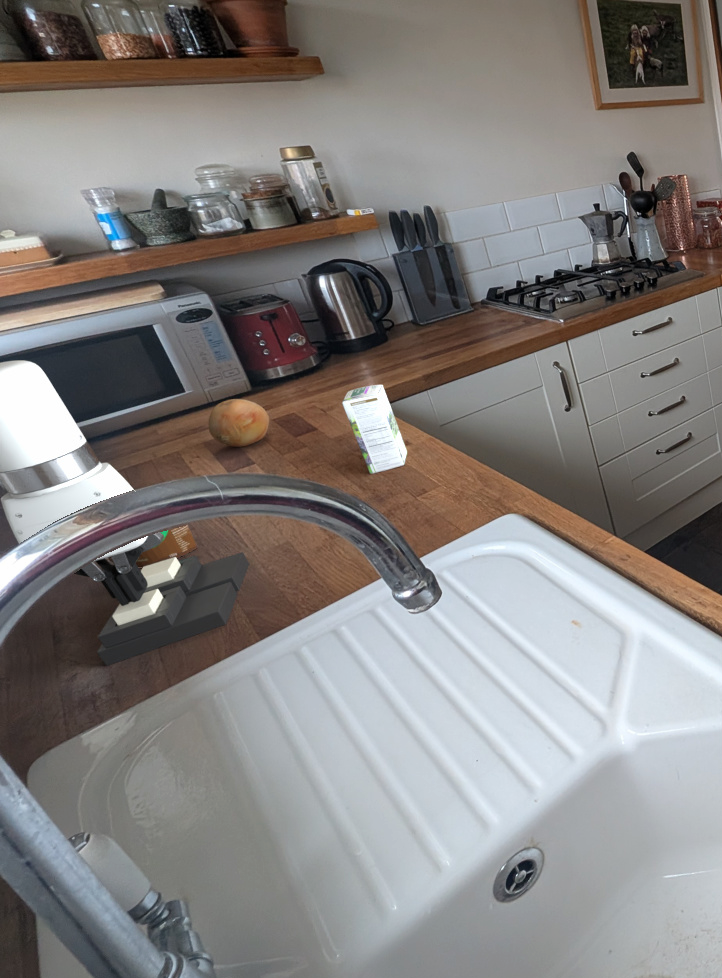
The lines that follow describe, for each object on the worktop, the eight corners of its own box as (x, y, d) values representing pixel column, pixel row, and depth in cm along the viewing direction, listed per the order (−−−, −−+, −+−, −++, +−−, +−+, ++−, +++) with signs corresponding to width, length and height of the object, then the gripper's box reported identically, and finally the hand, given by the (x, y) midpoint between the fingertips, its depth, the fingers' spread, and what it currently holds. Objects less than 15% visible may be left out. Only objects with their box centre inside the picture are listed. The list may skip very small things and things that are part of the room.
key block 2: (106, 666, 81) (88, 641, 80) (126, 631, 87) (110, 607, 85) (226, 624, 86) (212, 599, 84) (238, 594, 92) (224, 570, 90)
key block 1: (128, 627, 88) (112, 603, 86) (146, 597, 94) (131, 574, 92) (239, 590, 93) (226, 566, 91) (249, 564, 98) (237, 541, 97)
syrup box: (374, 461, 126) (345, 390, 120) (409, 452, 128) (381, 382, 122) (370, 475, 121) (339, 401, 115) (406, 465, 123) (377, 392, 117)
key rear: (140, 591, 89) (133, 581, 88) (149, 577, 92) (143, 566, 91) (174, 580, 90) (168, 570, 89) (182, 566, 93) (176, 556, 92)
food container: (100, 573, 101) (63, 517, 97) (142, 547, 106) (109, 493, 102) (166, 574, 98) (131, 517, 94) (206, 548, 104) (174, 493, 100)
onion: (288, 430, 145) (268, 387, 141) (256, 452, 136) (233, 407, 132) (244, 435, 145) (223, 393, 141) (209, 458, 136) (185, 413, 132)
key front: (119, 627, 82) (111, 616, 81) (129, 610, 85) (122, 599, 84) (156, 615, 84) (149, 604, 83) (164, 599, 87) (158, 588, 86)
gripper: (-60, 508, 70) (41, 642, 77) (123, 460, 76) (200, 589, 83) (-21, 478, 76) (69, 605, 84) (144, 436, 82) (215, 558, 90)
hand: (134, 596), depth 83 cm, fingers closed
